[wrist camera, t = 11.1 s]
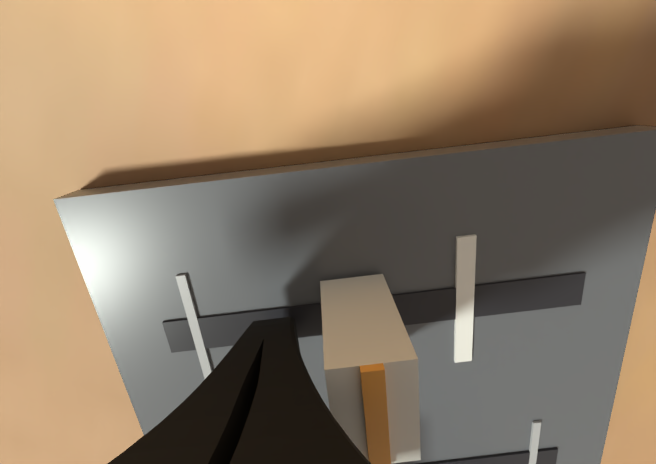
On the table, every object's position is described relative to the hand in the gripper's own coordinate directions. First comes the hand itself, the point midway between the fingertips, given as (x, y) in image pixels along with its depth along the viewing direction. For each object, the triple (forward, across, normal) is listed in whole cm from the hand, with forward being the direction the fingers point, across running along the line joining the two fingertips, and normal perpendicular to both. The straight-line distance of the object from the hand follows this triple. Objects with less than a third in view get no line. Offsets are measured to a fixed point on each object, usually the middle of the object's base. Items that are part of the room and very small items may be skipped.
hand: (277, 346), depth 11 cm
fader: (+1, -3, 0) cm, 3 cm away
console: (+2, -3, +4) cm, 6 cm away
